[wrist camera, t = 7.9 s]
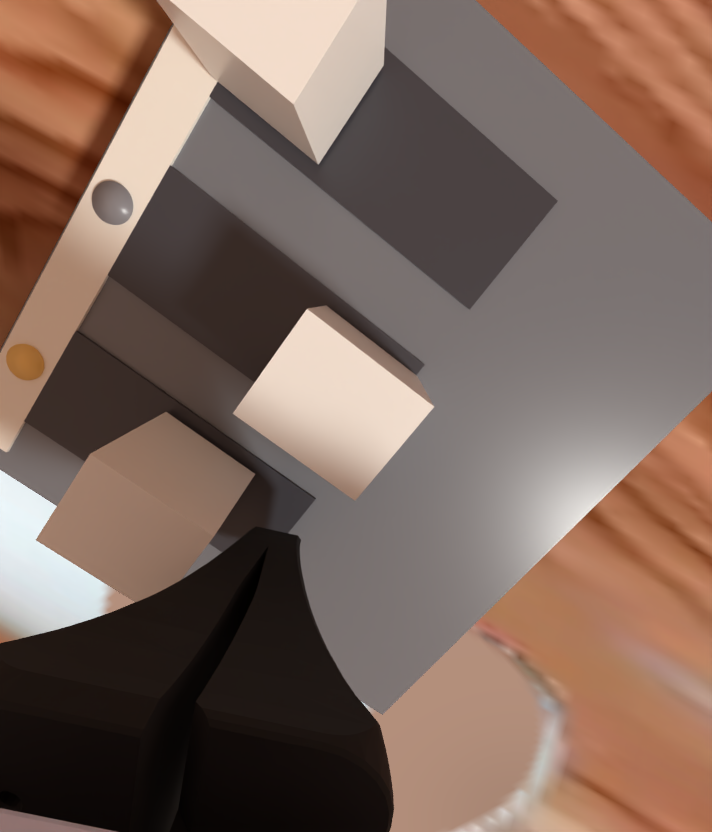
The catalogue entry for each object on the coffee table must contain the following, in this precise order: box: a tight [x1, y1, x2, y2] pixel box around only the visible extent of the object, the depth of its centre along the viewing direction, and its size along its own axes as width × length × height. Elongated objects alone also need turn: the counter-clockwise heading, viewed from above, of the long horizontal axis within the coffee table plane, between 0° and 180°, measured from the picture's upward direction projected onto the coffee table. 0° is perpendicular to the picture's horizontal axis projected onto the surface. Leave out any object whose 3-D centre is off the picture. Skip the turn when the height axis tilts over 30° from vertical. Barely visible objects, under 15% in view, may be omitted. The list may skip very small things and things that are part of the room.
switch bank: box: [0, 0, 712, 714], centre depth 13 cm, size 16×17×2 cm
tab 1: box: [36, 412, 255, 602], centre depth 11 cm, size 3×2×3 cm
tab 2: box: [157, 0, 387, 165], centre depth 8 cm, size 3×2×3 cm
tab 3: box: [233, 305, 434, 501], centre depth 10 cm, size 3×2×3 cm
